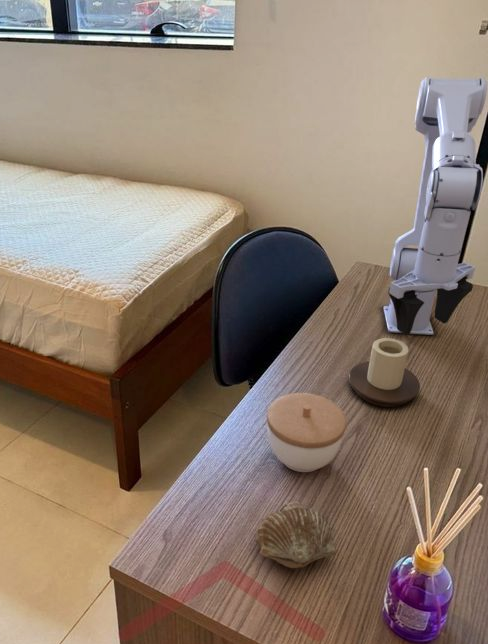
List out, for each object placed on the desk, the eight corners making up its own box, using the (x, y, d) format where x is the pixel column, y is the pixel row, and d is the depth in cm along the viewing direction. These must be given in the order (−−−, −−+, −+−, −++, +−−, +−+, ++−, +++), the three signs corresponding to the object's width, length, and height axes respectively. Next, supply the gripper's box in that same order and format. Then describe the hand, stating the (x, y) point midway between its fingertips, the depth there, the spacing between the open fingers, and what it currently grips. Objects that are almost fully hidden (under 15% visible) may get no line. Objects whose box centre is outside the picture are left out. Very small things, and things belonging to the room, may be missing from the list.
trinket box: (335, 492, 81) (343, 440, 76) (257, 474, 84) (260, 424, 79) (343, 440, 89) (351, 390, 84) (271, 426, 93) (275, 377, 88)
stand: (345, 367, 105) (347, 358, 104) (412, 372, 103) (414, 363, 101) (349, 407, 96) (351, 397, 95) (422, 414, 94) (425, 404, 92)
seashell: (337, 582, 70) (320, 523, 77) (349, 547, 66) (330, 488, 72) (258, 583, 70) (248, 525, 76) (265, 548, 66) (254, 490, 72)
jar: (365, 369, 101) (371, 336, 97) (399, 371, 100) (406, 339, 96) (368, 388, 96) (374, 355, 93) (403, 391, 95) (410, 357, 92)
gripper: (420, 268, 83) (403, 349, 91) (499, 248, 88) (476, 327, 95) (386, 250, 89) (372, 327, 96) (461, 231, 93) (443, 307, 100)
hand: (422, 325), depth 96 cm, fingers open, 7 cm apart
